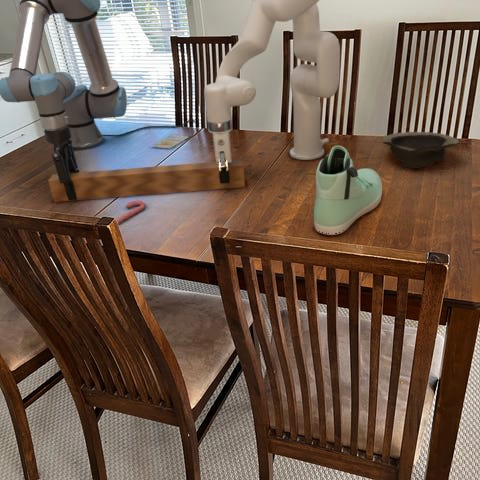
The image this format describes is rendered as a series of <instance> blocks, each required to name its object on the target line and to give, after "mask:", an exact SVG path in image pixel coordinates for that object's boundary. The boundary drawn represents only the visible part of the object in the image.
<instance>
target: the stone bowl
mask: <svg viewBox="0 0 480 480" xmlns="http://www.w3.org/2000/svg"><path fill="white" fill-rule="evenodd" d="M381 142H382V144H384V145H386V146H390V151H391V154H392V155H393V156H394V157H395V159H397V160H399V161H401V163H402V164H401V165H402V167H404V168H411V169H420V168H429V167H432V166H433V165H434V163H435V162H436V163H439V162H443V161H444V159H445V157H446V149H448V148H452V147H455V146H456V145H458V144H460V143H461V141H460V140H459V139H457V138H455V137H453V136H451V135H447V134H444V133H440V132H430V131H405V132H395V133H390V134H387V135H384V136H382V138H381Z"/></svg>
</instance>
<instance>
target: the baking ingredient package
mask: <svg viewBox="0 0 480 480" xmlns="http://www.w3.org/2000/svg"><path fill="white" fill-rule="evenodd" d="M188 138H189V136H186V135H178V134H177V135H176V134H171V135H169V136H167V137H165V138H163V139H162V140H160V141H158V142H157V143H155V144H153V145H152V147H154V148H162V149H171V148H173V147H175V146H177V145H178V144H180V143H182V142H184V141H185V140H186V139H188Z"/></svg>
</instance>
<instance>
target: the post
mask: <svg viewBox="0 0 480 480" xmlns="http://www.w3.org/2000/svg"><path fill="white" fill-rule="evenodd" d="M220 162H221V161H220ZM225 162H226V161H225ZM225 166H226V164H225ZM244 166H245V165H244V159H234V160H233V159H232V162H231V163H228V171H229V177H230V183H223V184H221V183H220V178H219V172H220V171H219V164H217V162H216V161H209V162H208V161H207V162H196V163H182V164H170V165H158V166H157V165H155V166H146V167H145V166H144V167H133V168H131V167H130V168H118V169H107V170H106V169H105V170H94V171H93V170H92V171H81V172H80V171H79V173H70V178H71V181H73V185H74V189H75V192H76V196H77V200H76V201H85V200H97V199H110V198H123V197H124V198H125V197H137V196H147V195H150V196H151V195H161V194H174V193H185V192H186V193H187V192H200V191H212V190H226V189H238V188H246V182H245V169H244ZM47 181H48V185H49V188H50V192H51V195H52V198H53V201H54V203H58V202H60V203H61V202H72V201H74V200H68V197H67V194H66V190H65V187H64V183H60V180H59V177H58V173H56V174H55V173H54V174H52V175H51V176H50V177H49V179H48V180H47Z"/></svg>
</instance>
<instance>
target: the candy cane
mask: <svg viewBox="0 0 480 480" xmlns="http://www.w3.org/2000/svg"><path fill="white" fill-rule="evenodd" d="M135 206H137V207H135ZM132 207H135V208H134V209H132V210H130V211H128V212H126V213H125V214H122V215H121V216H120V217H118V218H116V219H115V220H117V222H118V224H117V225H119V224H121V223H122V222H124V221H125V220H127V219H129V218H131V217H132V216H134V215H136V214H137V213H139V212H141V211H143V210H145V208H146V203H145V201H143V200H132V201H129V202H128V203H127V204H126V208H127V209H130V208H132Z"/></svg>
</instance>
